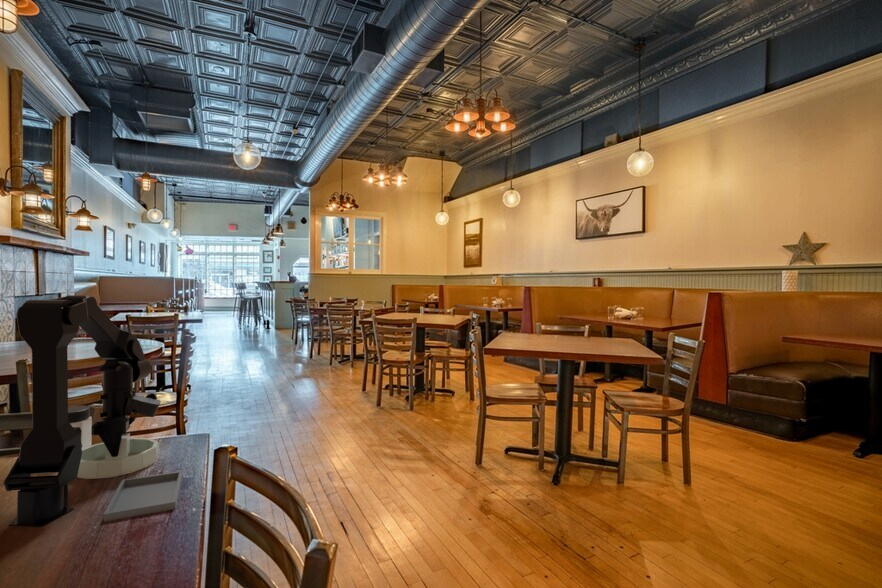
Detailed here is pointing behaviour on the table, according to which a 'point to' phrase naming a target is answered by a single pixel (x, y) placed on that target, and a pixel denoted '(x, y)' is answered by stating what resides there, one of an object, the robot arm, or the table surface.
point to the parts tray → (144, 496)
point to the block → (123, 449)
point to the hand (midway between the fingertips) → (116, 453)
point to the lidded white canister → (81, 422)
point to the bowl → (137, 459)
